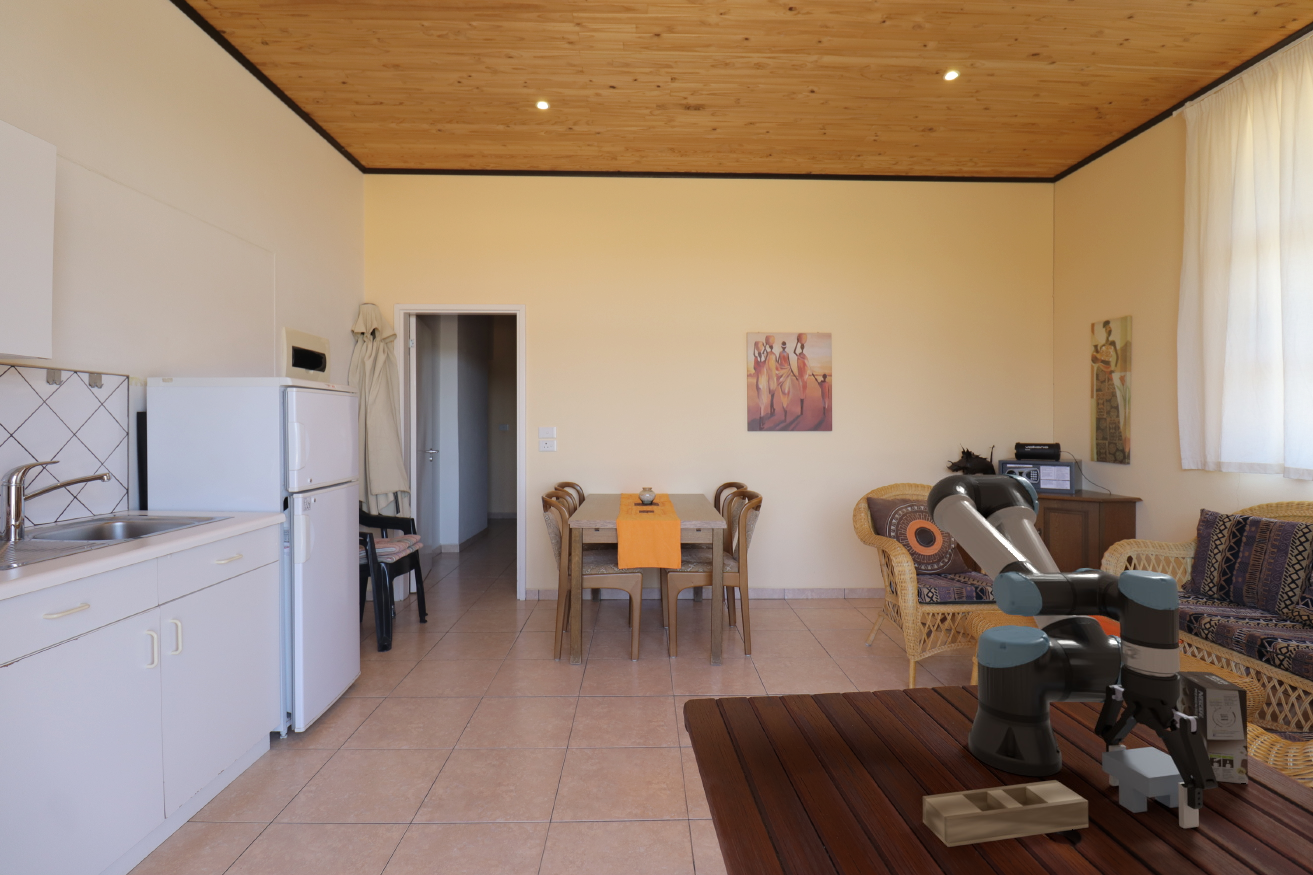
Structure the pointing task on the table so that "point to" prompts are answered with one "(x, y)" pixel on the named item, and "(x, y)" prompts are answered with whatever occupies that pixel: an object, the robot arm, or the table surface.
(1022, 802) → the rail
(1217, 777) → the coffee box
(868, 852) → the table surface
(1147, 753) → the grey plastic block
